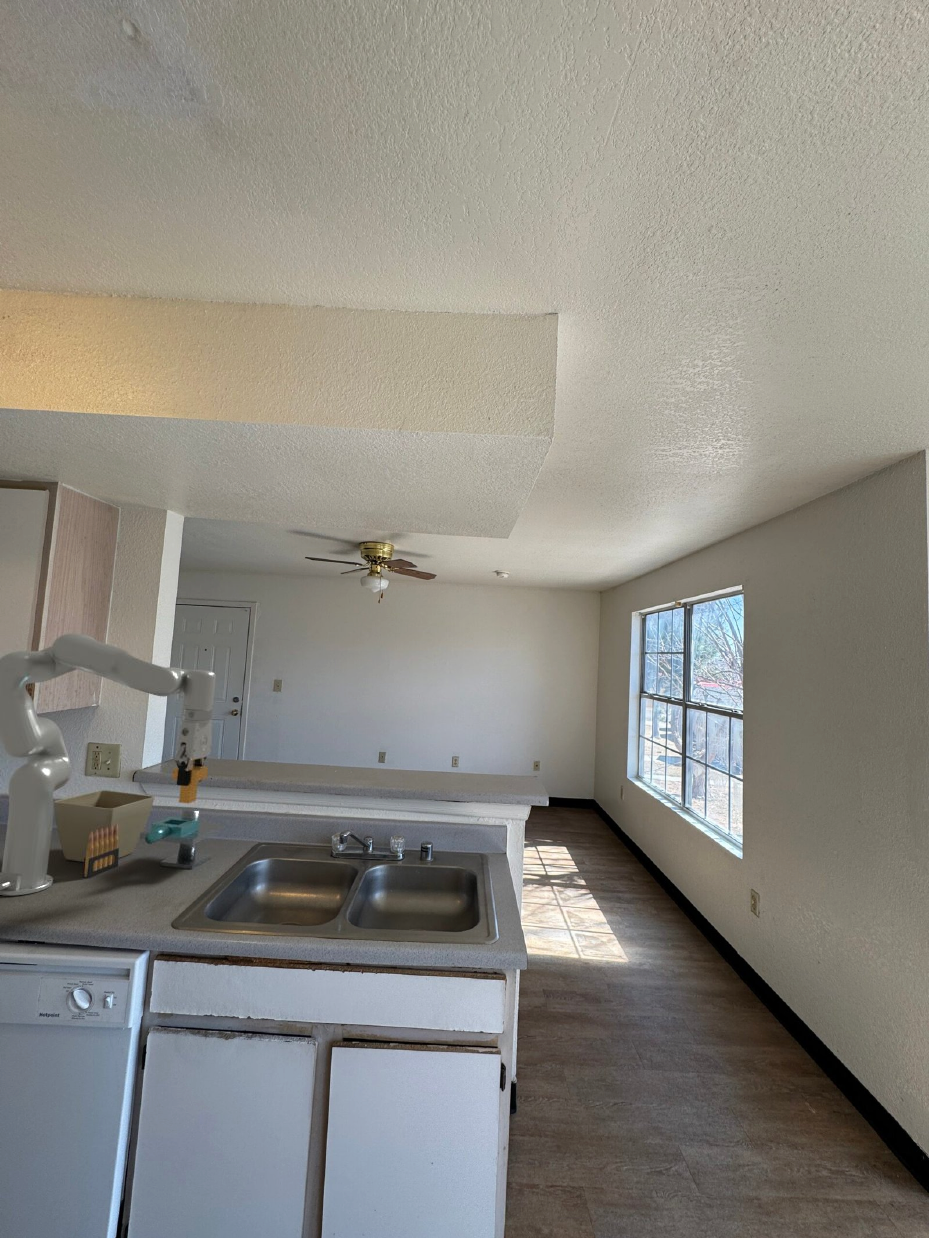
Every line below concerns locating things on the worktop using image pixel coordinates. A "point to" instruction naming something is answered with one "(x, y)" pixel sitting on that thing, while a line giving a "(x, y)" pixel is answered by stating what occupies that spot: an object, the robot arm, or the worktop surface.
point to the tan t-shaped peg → (191, 783)
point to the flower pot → (101, 820)
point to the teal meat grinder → (183, 837)
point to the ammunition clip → (101, 852)
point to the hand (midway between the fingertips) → (189, 782)
